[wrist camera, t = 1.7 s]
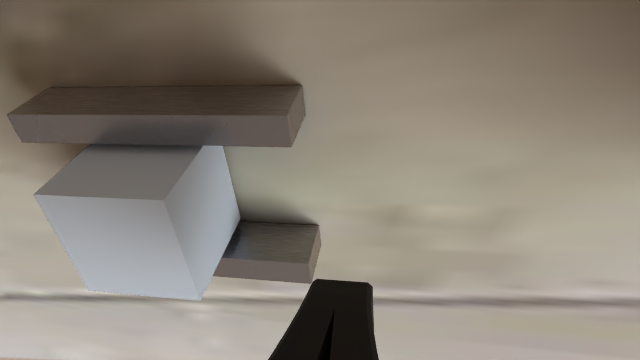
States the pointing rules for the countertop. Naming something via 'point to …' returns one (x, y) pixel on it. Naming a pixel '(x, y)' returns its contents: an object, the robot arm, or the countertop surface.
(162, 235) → the block
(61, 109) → the grey flat bars
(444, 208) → the countertop surface
